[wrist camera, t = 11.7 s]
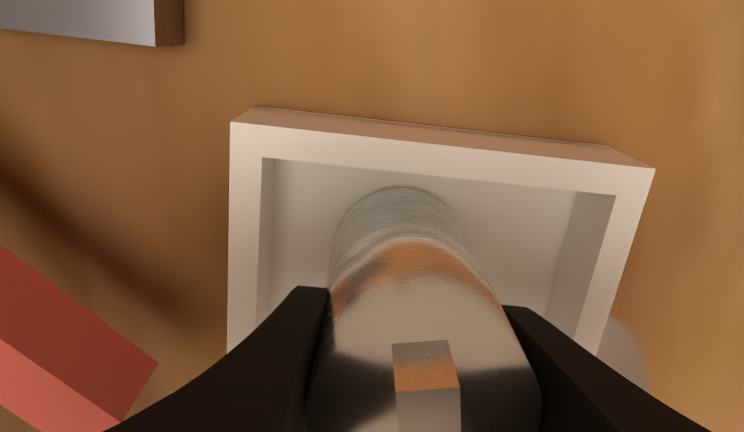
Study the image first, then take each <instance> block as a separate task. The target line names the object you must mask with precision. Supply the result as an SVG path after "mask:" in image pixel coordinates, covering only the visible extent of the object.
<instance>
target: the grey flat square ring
mask: <svg viewBox="0 0 744 432" xmlns="http://www.w3.org/2000/svg"><path fill="white" fill-rule="evenodd" d="M0 28H1V29H10V30H18V31H27V32H35V33H44V34H52V35H61V36H69V37H78V38H86V39H95V40H103V41H112V42H120V43H129V44H137V45H146V46H154V47H157V46H173V45H184V2H183V0H0Z"/></svg>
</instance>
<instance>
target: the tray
mask: <svg viewBox="0 0 744 432" xmlns="http://www.w3.org/2000/svg"><path fill="white" fill-rule="evenodd" d="M655 170H656V169H655V168H653V167H651V166H649V165H647V164H644V163H642V162H640V161H638V160H636V159H634V158H632V157H630V156H627V155H625V154H623V153H621V152H619V151H617V150H615V149H612V148H610V147H608V146H606V145H600V144H591V143H583V142H574V141H565V140H556V139H547V138H538V137H529V136H521V135H512V134H503V133H494V132H485V131H476V130H467V129H459V128H450V127H441V126H432V125H423V124H414V123H406V122H397V121H388V120H379V119H370V118H361V117H352V116H344V115H335V114H326V113H317V112H308V111H299V110H290V109H282V108H273V107H264V106H253V107H252V108H250V109H249V110H247V111H246V112H244V113H243V114H241V115H240V116H238V117H237V118H235V119H233V120H232V121H230V173H229V240H228V307H227V353H229V352H230V351H231V350H232V349H233V348H234V347H236V346H237V345H238V344H239V343H240V342H242V341H243V340H244V339H245V338H246V337H247V336H248V335H249V334H251V333H252V332H253V331H254V330H255V329H256V328H257V327H258V326H259V325H260V324H261V323H262V322H263V321H264V320H265V319H266V318H267V317H268V316H269V315H270V314H271V313H272V312H273V311H274V310H275V309H276V308H277V306H278V305H279V304H280V303H281V302H282V301H283V300H284V299H285V297H286V296H287V295H288V294H289V293H290V291H291V290H292V289H294V288H295V287H296V286H298V285H300V286H311V287H321V288H325V285H326V278H327V272H328V266H329V260H330V253H331V247H332V241H333V237H334V233H335V231H336V229H337V226H338V224H339V223H340V221H341V219H342V218H343V216H344V215H345V214H346V213H347V211H348V210H349V209H350V208H352V207H353V206H354V205H355V204H356V203H358V202H359V201H360V200H362V199H364V198H365V197H367V196H369V195H372V194H374V193H376V192H380V191H384V190H388V189H399V188H405V189H414V190H418V191H422V192H425V193H427V194H430V195H432V196H434V197H436V198H438V199H439V200H441V201H442V202H443V203H445V204H446V205H447V206H448V207H449V208H450V209H451V210H452V211H453V212H454V213H455V215H456V216H457V217H458V219H459V221H460V223H461V224H462V226H463V228H464V231H465V233H466V235H467V237H468V239H469V241H470V243H471V245H472V247H473V249H474V251H475V253H476V255H477V257H478V259H479V261H480V263H481V265H482V267H483V269H484V271H485V273H486V275H487V278H488V280H489V282H490V284H491V286H492V288H493V290H494V292H495V294H496V296H497V298H498V300H499V302H500V304H501V305H510V306H521V307H527V308H529V309H531V310H532V311H534V312H536V313H537V314H539V315H540V316H541V317H543V318H544V319H546V320H547V321H548V322H550V323H551V324H553V325H554V326H555V327H557V328H558V329H559V330H561V331H562V332H563V333H565V334H566V335H567V336H569V337H570V338H571V339H573V340H574V341H575V342H577V343H578V344H579V345H581V346H582V347H583V348H585V349H586V350H587V351H589V352H590V353H591V354H593V355H594V356H595V357H596V354H597V350H598V347H599V344H600V341H601V338H602V335H603V332H604V329H605V326H606V323H607V320H608V316H609V313H610V310H611V307H612V304H613V301H614V298H615V295H616V292H617V288H618V285H619V282H620V279H621V276H622V273H623V270H624V267H625V264H626V261H627V257H628V254H629V251H630V248H631V245H632V242H633V239H634V236H635V233H636V229H637V226H638V223H639V220H640V217H641V214H642V211H643V208H644V205H645V202H646V198H647V195H648V192H649V189H650V186H651V183H652V180H653V177H654V174H655Z"/></svg>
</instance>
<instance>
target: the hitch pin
mask: <svg viewBox="0 0 744 432" xmlns="http://www.w3.org/2000/svg"><path fill="white" fill-rule="evenodd" d="M325 288H328V289H327V296H326V303H325V310H324V316H323V321H322V325H321V329H320V334H319V338H318V342H317V346H316V351H315V356H314V361H313V366H312V372H311V378H310V384H309V391H308V397H307V403H306V415H305V416H306V428H307V432H538V430H539V427H540V423H541V416H542V397H541V392H540V387H539V384H538V381H537V379H536V376H535V374H534V371H533V369H532V367H531V365H530V363H529V361H528V359H527V357H526V355H525V353H524V351H523V349H522V347H521V345H520V343H519V341H518V339H517V337H516V335H515V333H514V331H513V329H512V327H511V325H510V322H509V320H508V318H507V316H506V314H505V312H504V310H503V308H502V306H501V304H500V302H499V300H498V298H497V296H496V294H495V292H494V290H493V288H492V286H491V284H490V282H489V280H488V278H487V275H486V273H485V271H484V269H483V267H482V265H481V263H480V261H479V259H478V257H477V255H476V253H475V251H474V249H473V247H472V245H471V243H470V241H469V239H468V237H467V235H466V233H465V231H464V228H463V226H462V224H461V223H460V221H459V219H458V217H457V216H456V215H455V213H454V212H453V211H452V210H451V209H450V208H449V207H448V206H447V205H446V204H445V203H443V202H442V201H441V200H439V199H438V198H436V197H434V196H432V195H430V194H427V193H425V192H422V191H418V190H414V189H405V188H399V189H388V190H384V191H380V192H376V193H374V194H372V195H369V196H367V197H365V198H364V199H362V200H360V201H359V202H358V203H356V204H355V205H354V206H353V207H352V208H350V209H349V210H348V211H347V213H346V214H345V215H344V216H343V218H342V219H341V221H340V223H339V224H338V226H337V229H336V231H335V233H334V237H333V241H332V247H331V253H330V260H329V266H328V272H327V278H326V285H325Z"/></svg>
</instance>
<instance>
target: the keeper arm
mask: <svg viewBox="0 0 744 432" xmlns="http://www.w3.org/2000/svg"><path fill="white" fill-rule="evenodd" d="M157 364H158V362H156V361H155V360H154V359H152V358H151V357H150V356H148V355H147V354H146V353H144V352H143V351H142V350H140V349H139V348H138V347H136V346H135V345H134V344H132V343H131V342H130V341H128V340H127V339H125V338H124V337H123V336H121V335H120V334H119V333H117V332H116V331H115V330H113V329H112V328H111V327H109V326H108V325H107V324H105V323H104V322H103V321H101V320H100V319H99V318H97V317H96V316H95V315H93V314H92V313H91V312H89V311H88V310H87V309H85V308H84V307H83V306H81V305H80V304H79V303H77V302H76V301H75V300H73V299H72V298H71V297H69V296H68V295H67V294H65V293H64V292H63V291H61V290H60V289H59V288H57V287H56V286H55V285H53V284H52V283H51V282H49V281H48V280H47V279H45V278H44V277H43V276H41V275H40V274H39V273H37V272H36V271H35V270H33V269H32V268H31V267H29V266H28V265H27V264H25V263H24V262H23V261H21V260H20V259H19V258H17V257H16V256H15V255H13V254H12V253H11V252H9V251H8V250H7V249H5V248H4V247H3V246H1V245H0V405H1V406H3V407H4V408H6V409H7V410H9V411H10V412H12V413H13V414H15V415H16V416H18V417H20V418H21V419H23V420H24V421H26V422H27V423H29V424H30V425H32V426H33V427H35V428H36V429H38V430H39V431H41V432H103V431H105V430H107V429H109V428H111V427H113V426H115V425H117V424H119V423H121V421H122V420H123V418H124V417H125V415H126V413H127V412H128V410H129V409H130V407H131V405H132V404H133V402H134V401H135V399H136V398H137V396H138V394H139V393H140V391H141V390H142V388H143V386H144V385H145V383H146V382H147V380H148V378H149V377H150V375H151V374H152V372H153V371H154V369H155V367H156V366H157Z"/></svg>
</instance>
